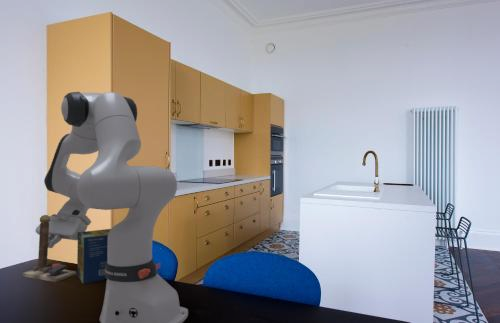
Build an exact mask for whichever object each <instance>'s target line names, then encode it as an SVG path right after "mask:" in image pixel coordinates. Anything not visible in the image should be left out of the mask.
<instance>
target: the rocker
mask: <svg viewBox="0 0 500 323" xmlns="http://www.w3.org/2000/svg"><path fill="white" fill-rule="evenodd" d="M67 269H68V267H67V265H66V264H60V265H59V266H57V267H55V268H53V269H51V270H49V271H48V272H49V274H53V275H55V274H57V273H59V272H61V271H63V270H67Z"/></svg>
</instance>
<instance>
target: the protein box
mask: <svg viewBox="0 0 500 323" xmlns="http://www.w3.org/2000/svg"><path fill="white" fill-rule="evenodd" d="M111 229H112V228H106V229H96V230H86V231H85V232H78V240H77V253H76V254H77V256H76V257H77V263H76V264H77V266H76V270H77V271H76V275H77V277H78V278H79V280H80V282H81V283H82V285H84V284H90V282H91V283H94V281H96V282H100V281H99V280H101V281H105V280H104V279H107V278H106V277H105V265H106V262H107V241H108V234H109V232H110V230H111Z"/></svg>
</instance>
